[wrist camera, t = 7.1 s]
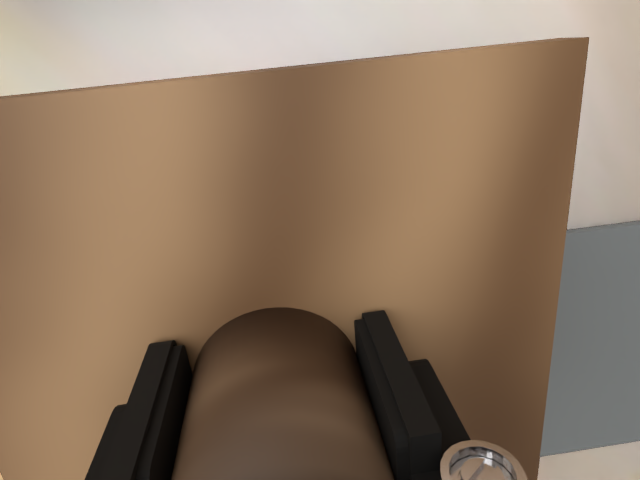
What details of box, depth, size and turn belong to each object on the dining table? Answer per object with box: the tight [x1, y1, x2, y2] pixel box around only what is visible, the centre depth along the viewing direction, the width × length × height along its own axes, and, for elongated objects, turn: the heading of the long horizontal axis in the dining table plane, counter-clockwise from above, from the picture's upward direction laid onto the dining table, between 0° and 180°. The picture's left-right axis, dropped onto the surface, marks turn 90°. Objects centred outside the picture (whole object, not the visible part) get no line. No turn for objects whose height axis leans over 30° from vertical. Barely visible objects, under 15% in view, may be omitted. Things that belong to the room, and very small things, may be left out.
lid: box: [0, 37, 589, 480], centre depth 10 cm, size 14×14×5 cm
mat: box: [540, 221, 640, 457], centre depth 25 cm, size 18×14×1 cm
